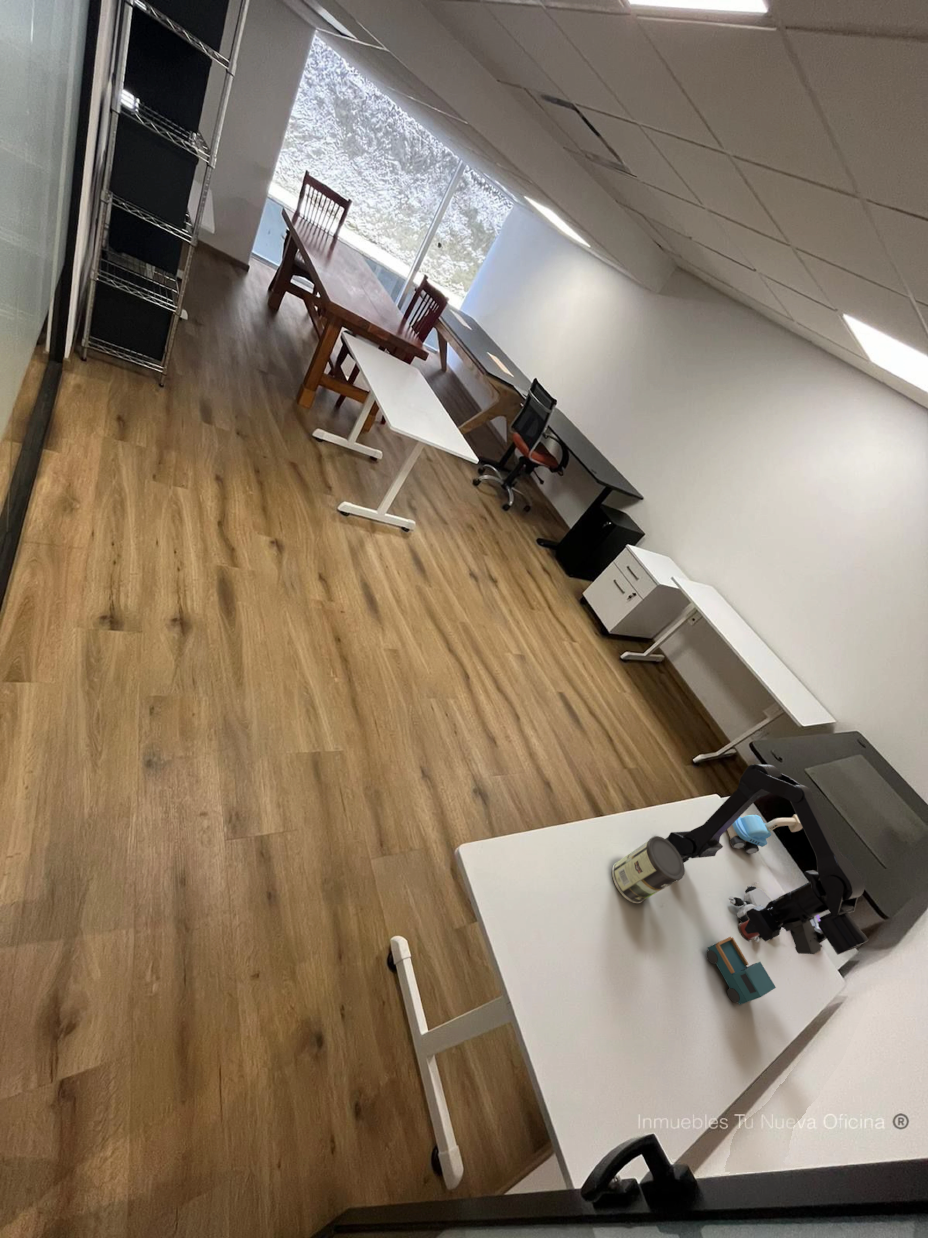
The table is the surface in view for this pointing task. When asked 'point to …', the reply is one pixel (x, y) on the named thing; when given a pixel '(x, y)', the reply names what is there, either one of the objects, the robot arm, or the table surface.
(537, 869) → the table surface
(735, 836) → the toy excavator
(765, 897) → the robot toy
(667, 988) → the table surface
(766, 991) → the truck
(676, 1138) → the table surface
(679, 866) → the coffee can
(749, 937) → the figure
